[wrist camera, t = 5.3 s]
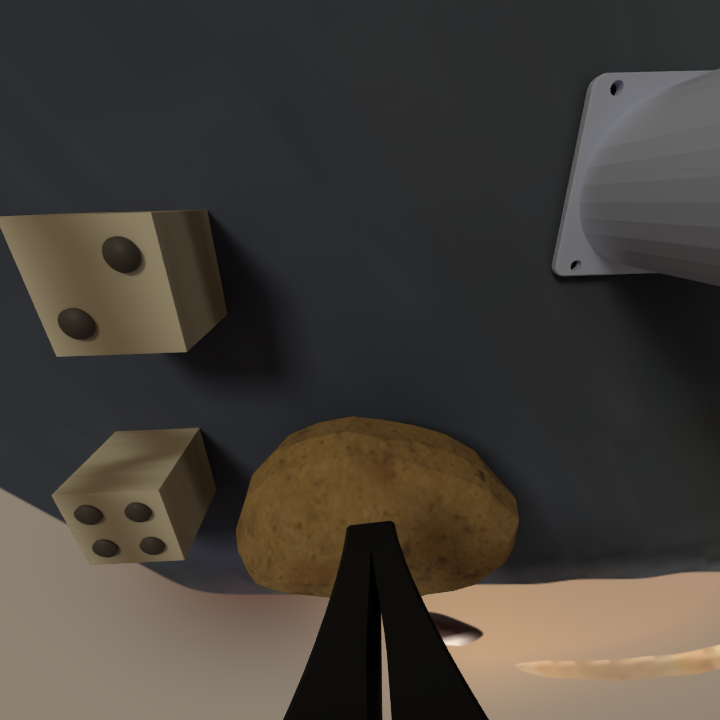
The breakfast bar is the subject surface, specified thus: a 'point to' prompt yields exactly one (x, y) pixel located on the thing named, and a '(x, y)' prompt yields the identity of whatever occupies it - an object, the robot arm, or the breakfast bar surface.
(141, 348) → the pip block two
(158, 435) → the pip block four
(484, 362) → the breakfast bar surface
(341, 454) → the potato
